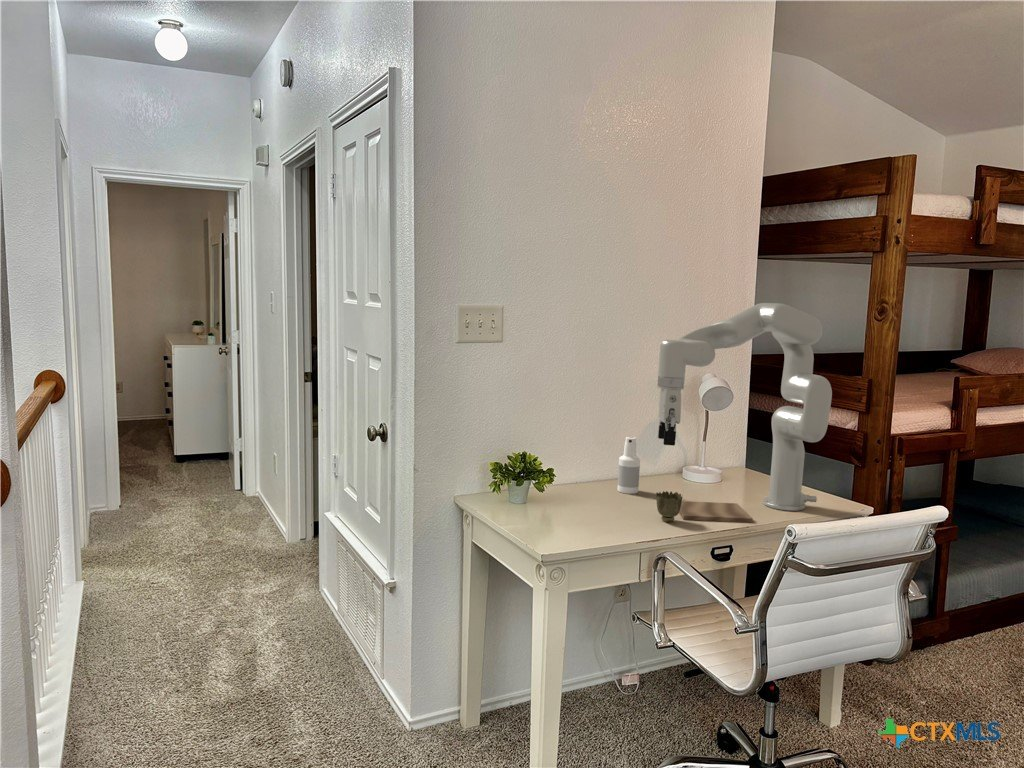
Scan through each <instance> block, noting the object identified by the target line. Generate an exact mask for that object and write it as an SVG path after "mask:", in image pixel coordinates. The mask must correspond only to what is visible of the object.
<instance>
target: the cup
mask: <svg viewBox="0 0 1024 768" xmlns="http://www.w3.org/2000/svg"><path fill="white" fill-rule="evenodd" d="M655 496H656V510H657V512H658V514H659V515H661V520H662V522H664V523H673V522H674V521H675V517H677V516H678V515H679V511H680V508H681V503H682V501H683V496H684V495H682V494H681V493H679V492H677V491H675V492H674V493H673V491H670V492H669V491H667V490H666V491H665V490H663V491H662V492H661V491H659V492H656V494H655Z"/></svg>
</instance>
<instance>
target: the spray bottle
mask: <svg viewBox="0 0 1024 768" xmlns="http://www.w3.org/2000/svg"><path fill="white" fill-rule="evenodd" d="M623 447H624V449H623V455H621V456H619V458H618V474H617V489H616V490H617V491H618V492H619V493H622V494H626V495H627V494H628V495H633V494H638V493H639V486H640V484H639V483H640V468H641V467H640V466H641V459H640V457H638V456H637V437H628V436H626V437H625V441H624V446H623Z"/></svg>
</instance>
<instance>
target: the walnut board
mask: <svg viewBox="0 0 1024 768" xmlns="http://www.w3.org/2000/svg"><path fill="white" fill-rule="evenodd" d="M678 515H680V517H681V518H682V519H683V521H684V520H685V521H705V522H706V521H707V522H726V523H729V522H730V523H731V522H732V523H733V522H734V523H753V522H754V521H753V520H754V518H753V517H752V516H751V515H750V514H749V513H748V512H747V511H746V510H745V509H744V508H743V507H742V506H740V504H739V503H736V502H735V503H733V502H712V501H711V502H708V501H691V500H690V501H686V500H682V503H681V508H680V511H679V513H678Z"/></svg>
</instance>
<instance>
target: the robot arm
mask: <svg viewBox="0 0 1024 768" xmlns="http://www.w3.org/2000/svg"><path fill="white" fill-rule="evenodd" d="M768 332H771V335H772V336H773V338H774V339H775V340H776V341H777V343H779V345H780V347H781V349H782V350H783V354H784V361H783V370H782V377H781V383H780V384H781V385H780V394H781V396H782V398H783V399H784V400H786V401H788V402H790V403H796V404H799V405H800V404H801V405H803V408H802V407H797V406H791V405H783V406H780V407H778V408H777V409H775V411H774V413H773V414H772V416H771V432H772V452H771V453H772V455H771V468H770V478H769V490H768V492H769V493H768V496H767V497H764V498H763V501H762V504H764V505H765V506H766V507H768V508H772V509H776V510H780V511H781V510H782V511H792V512H793V511H796V512H797V511H803V510H805V509H806V503H807V502H809V503H817V500H818V499H817V495H810V494H805V493H803V491H802V488H803V478H804V466H805V455H806V450H805V445H804V442H807V443H818V442H820V441H821V440H822V439H823V438H824V437H825V435H826V433H827V430H828V425H829V422H830V421H829V419H830V412H831V405H832V399H833V396H832V395H833V390H832V386H831V383H830V381H829V380H828V379H827V378H826V377H824V376H822V375H818V374H813V373H814V361H815V358H814V351H813V348H812V345H815V344H816V343H818V342H819V340H820V339H821V338H822V335H823V332H824V331H823V326H822V323H821V321H820V320H819V319H818V318H816V316H813V315H811V314H809V313H806V312H804V311H802V310H799V308H798V309H797V308H795V307H793V306H790V305H788V304H785V303H781V302H780V303H779V302H778V303H777V302H773V303H772V302H761V303H757V304H755V305H753V306H751V307H749V308H747V309H745V310H743V311H741V312H739V313H737V314H735V315H734V316H732V317H729V318H728V319H726V320H723V321H719V322H716V323H713V324H710V325H707V326H704V327H700V328H697V329H695V330H693V331H691V332H689V333H687V334H685V335H682V336H681V337H679V338H678V339H677V340H676V339H664V340H662V341H661V343H660V345H659V346H660V347H659V359H658V360H659V361H658V372H657V387H656V388H658V389H660V392H659V403H658V418H659V425H658V432H657V433H658V435H657V436H658V437H657V438H658V439H661V440H663V442H662V444H663V445H664V446H675V445H676V438H677V437H676V436H677V425H679V424H681V415H682V391H683V390H685V379H686V366H692V367H697V368H698V367H699V368H703V367H707V366H709V365H711V364H712V363H713V361H714V360H715V357H716V350H720V349H731V348H737V347H740V346H742V345H744V344H746V343H747V342H749V341H751V340H753V339H754V338H757V337H758V336H760V335H762V334H764V333H768ZM803 441H804V442H803Z"/></svg>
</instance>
